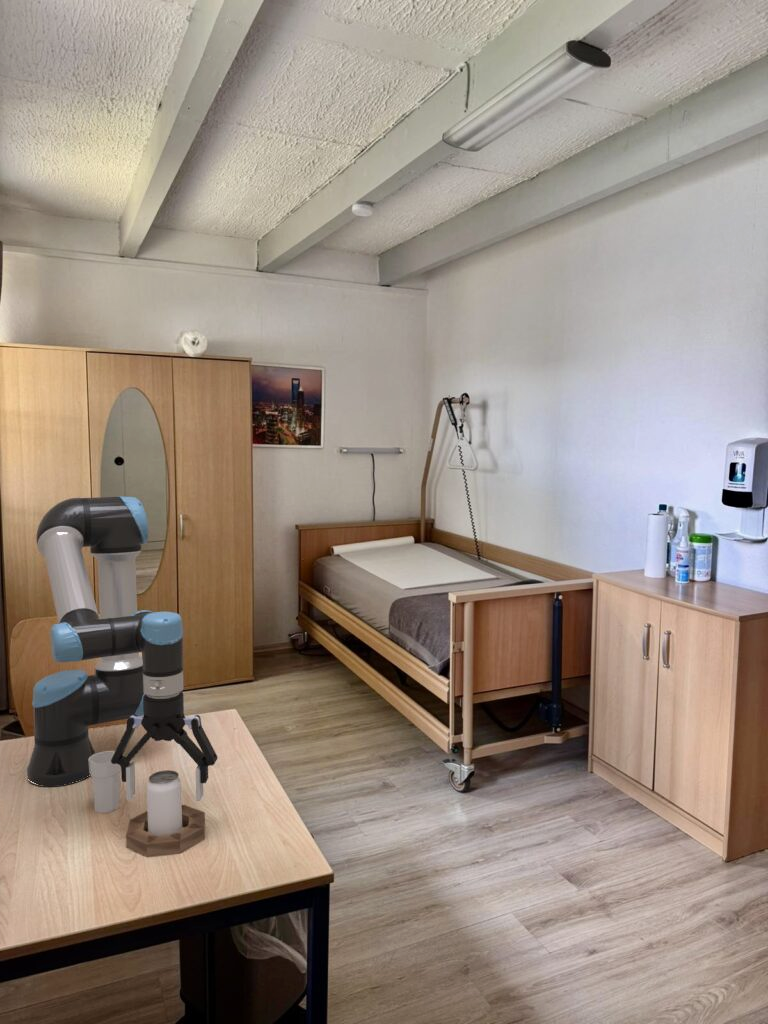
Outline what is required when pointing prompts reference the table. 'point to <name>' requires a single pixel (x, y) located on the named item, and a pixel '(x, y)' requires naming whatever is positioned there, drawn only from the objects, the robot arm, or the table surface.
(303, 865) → the table surface
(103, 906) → the table surface
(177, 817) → the can
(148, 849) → the brown octagonal frame
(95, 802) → the cup
